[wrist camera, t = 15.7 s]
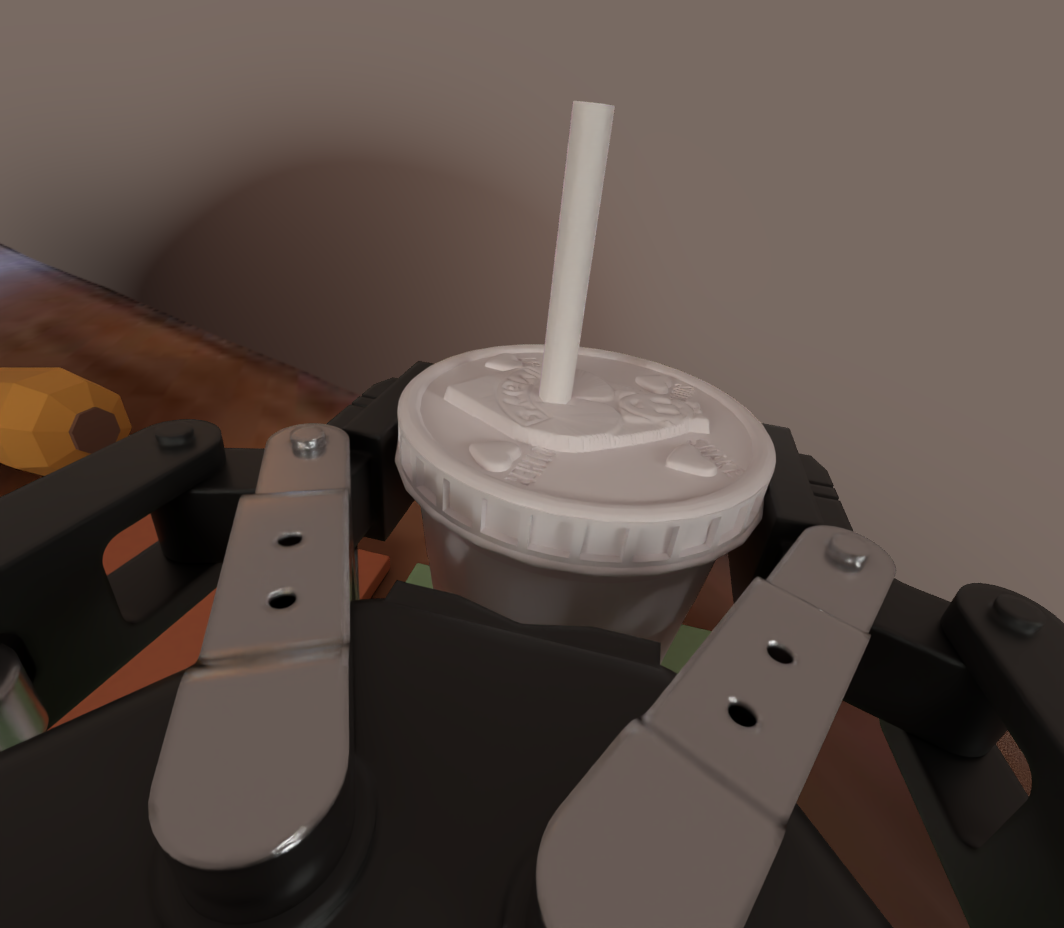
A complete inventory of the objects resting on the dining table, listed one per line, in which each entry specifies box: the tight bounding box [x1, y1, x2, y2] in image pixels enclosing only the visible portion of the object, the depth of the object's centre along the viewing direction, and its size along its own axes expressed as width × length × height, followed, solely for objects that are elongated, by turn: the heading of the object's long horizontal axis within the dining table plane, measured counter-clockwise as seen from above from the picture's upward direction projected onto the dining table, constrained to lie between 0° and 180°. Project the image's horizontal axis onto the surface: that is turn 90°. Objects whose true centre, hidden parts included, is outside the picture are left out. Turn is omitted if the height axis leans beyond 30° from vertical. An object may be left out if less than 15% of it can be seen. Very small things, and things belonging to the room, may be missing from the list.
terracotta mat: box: [48, 514, 390, 730], centre depth 17 cm, size 11×11×1 cm
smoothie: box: [395, 101, 776, 664], centre depth 11 cm, size 6×6×14 cm
